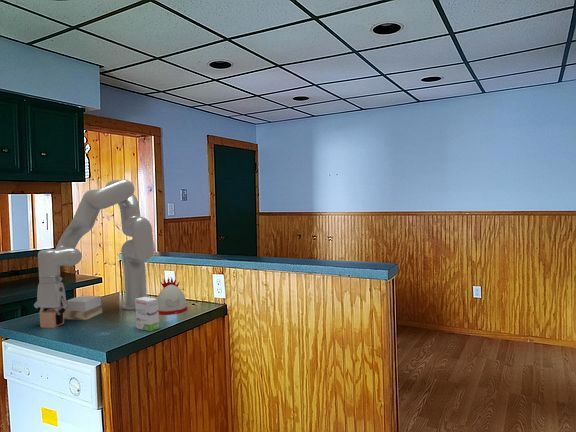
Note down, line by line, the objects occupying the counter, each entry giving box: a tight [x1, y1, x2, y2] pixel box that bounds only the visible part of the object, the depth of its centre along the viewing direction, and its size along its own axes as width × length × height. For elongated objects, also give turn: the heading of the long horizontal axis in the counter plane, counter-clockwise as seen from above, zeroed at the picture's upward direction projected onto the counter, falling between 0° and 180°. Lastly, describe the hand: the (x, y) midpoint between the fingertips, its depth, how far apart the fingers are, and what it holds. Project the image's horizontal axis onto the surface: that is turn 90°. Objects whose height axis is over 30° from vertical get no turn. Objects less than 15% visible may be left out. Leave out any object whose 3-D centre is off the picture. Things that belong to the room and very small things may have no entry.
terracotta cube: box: [39, 308, 65, 329], centre depth 171 cm, size 6×6×6 cm
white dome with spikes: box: [156, 277, 188, 316], centre depth 189 cm, size 14×14×15 cm
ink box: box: [135, 296, 160, 332], centre depth 164 cm, size 9×5×12 cm, turn 55°
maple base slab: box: [64, 304, 103, 321], centre depth 184 cm, size 11×11×4 cm
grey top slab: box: [66, 295, 102, 311], centre depth 184 cm, size 10×10×4 cm
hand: (52, 323), depth 171 cm, fingers closed on terracotta cube, 6 cm apart
